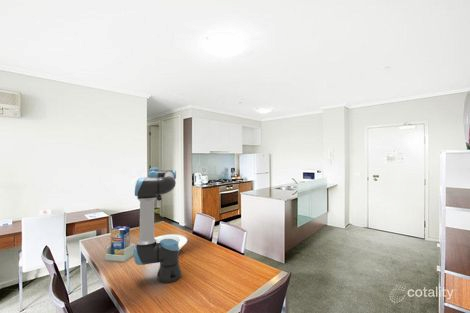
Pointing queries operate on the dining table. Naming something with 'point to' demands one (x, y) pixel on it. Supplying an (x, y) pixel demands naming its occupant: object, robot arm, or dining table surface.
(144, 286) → the dining table surface
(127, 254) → the crate
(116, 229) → the beverage box
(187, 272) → the dining table surface
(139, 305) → the dining table surface
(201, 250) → the dining table surface
